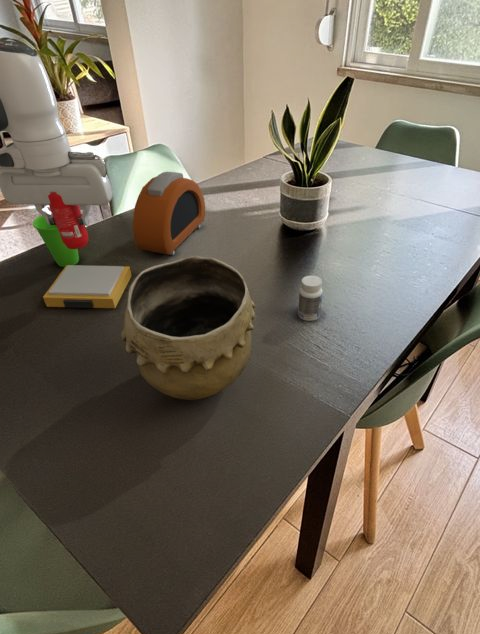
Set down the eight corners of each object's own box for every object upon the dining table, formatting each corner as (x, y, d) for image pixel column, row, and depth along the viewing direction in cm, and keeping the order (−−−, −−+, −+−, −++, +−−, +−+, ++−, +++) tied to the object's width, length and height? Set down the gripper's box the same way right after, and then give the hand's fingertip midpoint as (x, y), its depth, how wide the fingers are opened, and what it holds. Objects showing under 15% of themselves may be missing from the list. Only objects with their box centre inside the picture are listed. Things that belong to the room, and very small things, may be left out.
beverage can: (58, 247, 88) (37, 190, 80) (75, 236, 92) (56, 180, 84) (79, 252, 87) (59, 193, 79) (95, 240, 90) (77, 183, 82)
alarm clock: (168, 262, 105) (157, 196, 94) (136, 256, 107) (121, 191, 96) (208, 222, 122) (202, 161, 110) (179, 217, 124) (171, 157, 112)
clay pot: (274, 411, 70) (276, 315, 57) (143, 442, 66) (111, 345, 52) (243, 333, 85) (238, 242, 72) (134, 354, 81) (107, 261, 67)
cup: (92, 264, 105) (79, 222, 97) (54, 275, 101) (37, 232, 94) (81, 249, 110) (67, 208, 103) (44, 259, 107) (28, 217, 99)
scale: (45, 308, 91) (40, 296, 89) (69, 274, 102) (65, 262, 99) (114, 310, 91) (110, 298, 89) (131, 275, 101) (129, 264, 99)
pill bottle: (322, 320, 88) (326, 286, 82) (300, 322, 88) (302, 288, 82) (317, 306, 92) (320, 273, 86) (295, 309, 91) (297, 275, 85)
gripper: (107, 146, 78) (124, 217, 88) (-1, 145, 79) (27, 216, 88) (96, 158, 74) (115, 232, 83) (-20, 157, 74) (12, 230, 84)
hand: (69, 224), depth 86 cm, fingers closed on beverage can, 5 cm apart
